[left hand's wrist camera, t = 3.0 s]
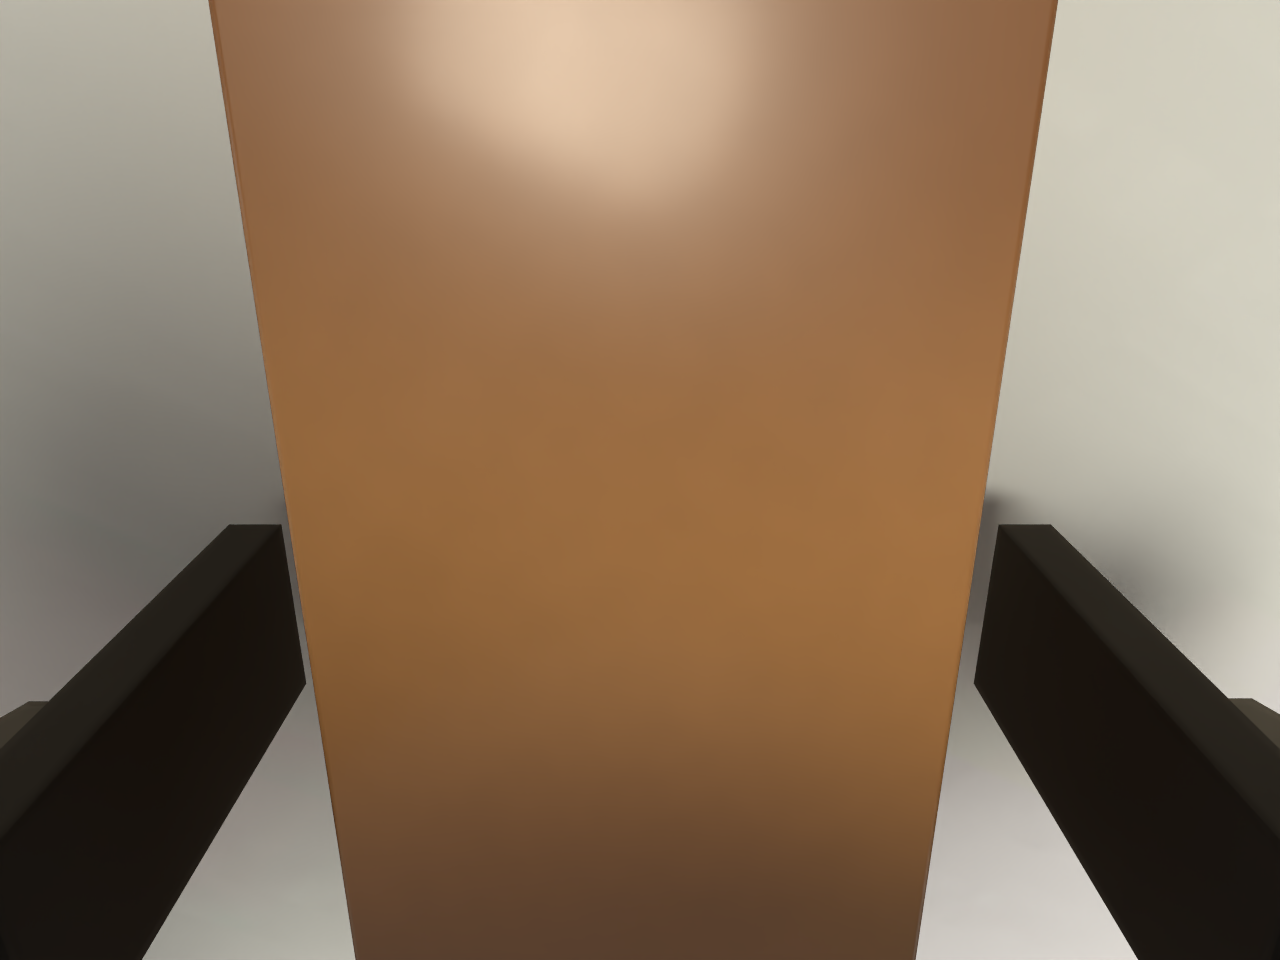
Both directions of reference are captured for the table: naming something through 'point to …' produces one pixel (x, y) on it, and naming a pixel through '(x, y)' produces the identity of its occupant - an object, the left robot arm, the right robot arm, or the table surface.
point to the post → (634, 447)
